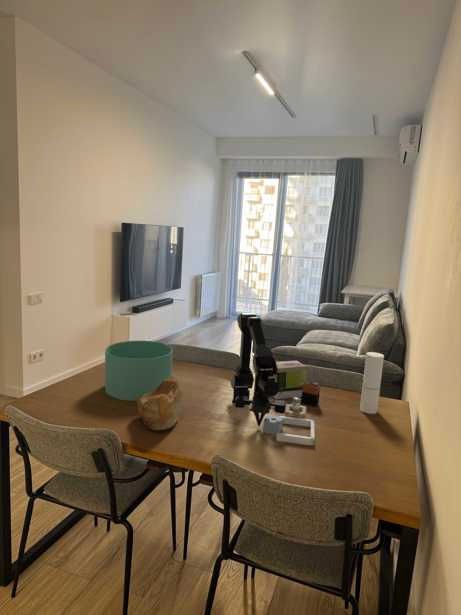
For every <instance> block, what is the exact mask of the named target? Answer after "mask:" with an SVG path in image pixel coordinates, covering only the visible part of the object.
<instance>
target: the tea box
mask: <svg viewBox="0 0 461 615" xmlns="http://www.w3.org/2000/svg"><path fill="white" fill-rule="evenodd" d="M276 365H277V369H278V370H277V375H273V377H274V378H275V381H276V382H277V383H278V385H279V392H278V393H277V394H276V395H275V396H273V399H275V400H282V399H291V398H292V399H293V397H299V398H302V388H303V384H304V383H305V382H306V381H307V376H308V375H307V373H308V372H307V371H308V367H307V365H305V364H303V363H301V362H300V361H298V360H285V361H283V360H282V361H281V360H280V361H276ZM267 370H273V369H267Z"/></svg>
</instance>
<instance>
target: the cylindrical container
mask: <svg viewBox="0 0 461 615" xmlns="http://www.w3.org/2000/svg"><path fill="white" fill-rule="evenodd" d="M384 359H385V355H384V354H382V353H379V352H375V351H369V352H366V353H365V363H364V369H363V371H364V372H363V378H362V379H363V380H362V388H361V394H360V395H361V396H360V404H359V410H360V411H361V412H363V413H366V414H370V415H372V414H373V415H375V414H377V413H378V409H379V408H378V406H379V398H380V391H381V382H382V376H383V369H384V368H383V367H384Z"/></svg>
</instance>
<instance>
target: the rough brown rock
mask: <svg viewBox="0 0 461 615" xmlns="http://www.w3.org/2000/svg"><path fill="white" fill-rule="evenodd" d="M182 401H183V390H182V389H181V386H180V382H179V380H178V379H177V378H175V377H174V376H173V375H172V376H170V377H169V378H168V379H166V380H164V381H163V382H162V383H161V384H160V385H159V386H158V387H157V388H156V389H155V390H153V391H151V392H149V393H146V394H144V395H142V396H141V397H140V398H139V399H138V400H137V401H136V404H137V409H138V412H139V415H140V416H141V419H142V422H143V425H144V427H146V429H147V430H153V431H166V430H168V429H169V430H170V429H171V428H172V427H174V426H175V425H176V423H177V420H178V418H179V416H180V414H181V404H182Z"/></svg>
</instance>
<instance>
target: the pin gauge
mask: <svg viewBox="0 0 461 615" xmlns="http://www.w3.org/2000/svg"><path fill="white" fill-rule="evenodd" d="M301 399H302V398H301V397H293V398H292V403H291V405H292V411H295V412H299V410H300V406H301Z"/></svg>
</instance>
